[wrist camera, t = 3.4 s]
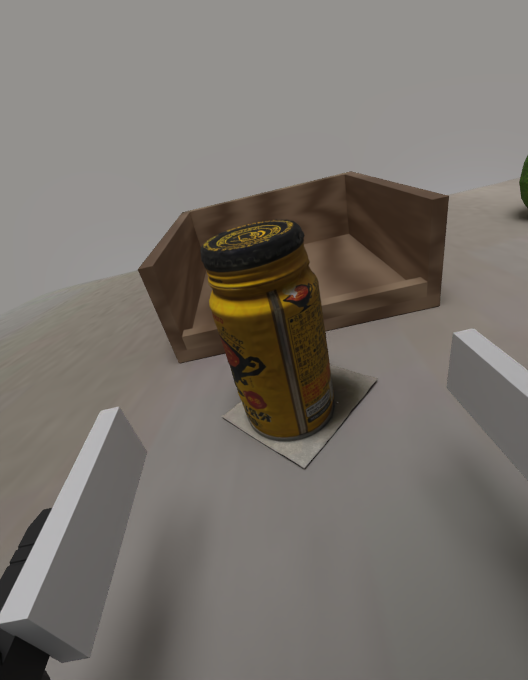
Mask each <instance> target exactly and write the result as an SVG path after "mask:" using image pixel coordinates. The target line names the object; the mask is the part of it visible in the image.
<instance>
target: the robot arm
mask: <svg viewBox="0 0 528 680" xmlns="http://www.w3.org/2000/svg"><path fill="white" fill-rule="evenodd" d="M447 389H448V390H449V391H450V392H451V393H452V395H453V396H454V397H455V398H456V399H457V400H458V401H459V403H460V404H461V405H462V406H463V407H464V408H465V409H466V411H467V412H468V413H469V414H470V415H471V416H472V417H473V419H474V420H475V421H476V422H477V423H478V424H479V425H480V427H481V428H482V429H483V430H484V431H485V432H486V433H487V435H488V436H489V437H490V438H491V439H492V440H493V441H494V443H495V444H496V445H497V446H498V447H499V448H500V449H501V451H502V452H503V453H504V454H505V455H506V456H507V457H508V459H509V460H510V461H511V462H512V463H513V464H514V465H515V467H516V468H517V469H518V470H519V471H520V472H521V473H522V475H523V476H524V477H525V478H526V479H527V480H528V370H527V369H526V368H524V367H523V366H522V365H520V364H519V363H518V362H517V361H515V360H514V359H513V358H511V357H510V356H509V355H507V354H506V353H505V352H504V351H502V350H501V349H500V348H498V347H497V346H496V345H494V344H493V343H492V342H491V341H489V340H488V339H487V338H485V337H484V336H483V335H481V334H480V333H479V332H478V331H476V330H475V329H474V328H472V329H468V330H463V331H459V332H454V333H453V337H452V345H451V354H450V362H449V371H448V380H447ZM146 455H147V451H146V449H145V447H144V446H143V444H142V442H141V441H140V439H139V438H138V436H137V434H136V433H135V431H134V430H133V428H132V426H131V425H130V423H129V421H128V420H127V418H126V417H125V415H124V413H123V412H122V410H121V408H120V407H115V408H111V409H106V410H102V411H100V413H99V415H98V417H97V419H96V421H95V423H94V425H93V427H92V429H91V431H90V433H89V435H88V437H87V439H86V441H85V443H84V445H83V447H82V449H81V452H80V454H79V456H78V458H77V460H76V462H75V464H74V466H73V468H72V470H71V472H70V474H69V476H68V478H67V480H66V482H65V484H64V486H63V488H62V490H61V492H60V494H59V496H58V498H57V500H56V502H55V504H54V506H53V508H49V509H44V510H43V511H42V512H41V513H40V514H39V515H38V517H37V518H36V519H35V520H34V521H33V522H32V524H31V525H30V526H29V527H28V529H27V531H26V533H25V535H24V536H23V538H22V540H21V542H20V544H19V546H18V550H16V551H15V553H14V555H13V557H12V559H11V561H10V566H8V567H7V568H6V570H5V572H4V574H3V576H2V578H1V579H0V680H50V677H49V675H48V674H47V672H46V671H45V668H46V665H47V662H48V659H49V656H51V657H52V658H54V659H56V660H58V661H59V662H61V663H64V662H70V661H75V660H80V659H86V658H90V655H91V651H92V648H93V644H94V641H95V637H96V633H97V630H98V626H99V623H100V619H101V616H102V612H103V608H104V605H105V601H106V598H107V594H108V591H109V587H110V583H111V580H112V576H113V573H114V569H115V566H116V562H117V558H118V555H119V551H120V548H121V544H122V540H123V537H124V533H125V530H126V526H127V523H128V519H129V515H130V512H131V508H132V505H133V501H134V498H135V494H136V490H137V487H138V483H139V480H140V476H141V473H142V469H143V465H144V462H145V458H146Z"/></svg>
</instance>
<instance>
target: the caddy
mask: <svg viewBox="0 0 528 680" xmlns="http://www.w3.org/2000/svg"><path fill="white" fill-rule="evenodd" d="M448 201H449V196H447V195H443V194H439V193H435V192H431V191H427V190H423V189H419V188H415V187H411V186H407V185H403V184H399V183H395V182H391V181H387V180H383V179H379V178H375V177H371V176H367V175H363V174H359V173H355V172H347V173H342V174H339V175H335V176H330V177H326V178H322V179H318V180H314V181H310V182H306V183H301V184H297V185H293V186H289V187H285V188H281V189H277V190H273V191H269V192H264V193H260V194H256V195H252V196H248V197H244V198H240V199H236V200H232V201H228V202H224V203H219V204H215V205H211V206H207V207H203V208H199V209H195V210H191V211H187V212H183V213H182V214H181V215H180V216H179V218H178V219H177V220H176V221H175V223H174V224H173V225H172V226H171V228H170V229H169V230H168V232H167V233H166V234H165V235H164V237H163V238H162V239H161V241H160V242H159V243H158V244H157V246H156V247H155V248H154V249H153V251H152V252H151V253H150V255H149V256H148V257H147V258H146V260H145V261H144V262H143V263H142V265H141V266H140V267H139V269H138V271H139V273H140V276H141V278H142V280H143V282H144V285H145V287H146V289H147V292H148V294H149V296H150V298H151V301H152V303H153V305H154V308H155V310H156V312H157V314H158V317H159V319H160V321H161V323H162V326H163V328H164V330H165V333H166V335H167V337H168V339H169V342H170V344H171V346H172V348H173V351H174V353H175V355H176V358H177V360H178V362H179V363H182V362H187V361H191V360H196V359H200V358H205V357H209V356H214V355H219V354H223V353H225V350H224V347H223V344H222V341H221V338H220V336H219V333H218V330H217V327H216V324H215V322H214V319H213V316H212V312H211V309H210V306H209V299H210V295H211V292H212V288H211V287H210V286H209V284H208V275H207V271H206V269H205V267H204V264H203V262H202V260H201V252H200V250H201V247H202V245H204V244H205V242H206V241H207V240H209V239H210V238H212V237H214V236H216V235H218V234H219V233H222V232H225V231H227V230H230V229H233V228H236V227H240V226H244V225H247V224H252V223H256V222H261V221H268V220H276V219H277V220H281V219H282V220H286V219H287V220H290V221H294V222H296V223H297V224H298V225H299V226H300V227H301V229H302V231H303V232H304V235H305V236H304V247H305V249H306V252H307V254H308V259H309V261H310V263H309V267H310V269H311V271H312V272H313V273H315V275H316V277H317V278H318V281H319V290H320V297H321V304H322V312H323V320H324V326H325V331H328V330H332V329H337V328H341V327H346V326H350V325H355V324H360V323H364V322H369V321H373V320H378V319H382V318H387V317H391V316H396V315H400V314H405V313H410V312H414V311H419V310H423V309H428V308H432V307H437V306H439V305H440V294H441V282H442V270H443V259H444V247H445V236H446V224H447V212H448Z"/></svg>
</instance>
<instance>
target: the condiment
mask: <svg viewBox="0 0 528 680" xmlns="http://www.w3.org/2000/svg"><path fill="white" fill-rule="evenodd" d="M304 236H305V235H304V232H303V231H302V229H301V227H300V226H299V225H298V224H297V223H296V222H294V221H290V220H287V219H286V220H282V219H281V220H277V219H276V220H268V221H261V222H256V223H252V224H247V225H244V226H240V227H236V228H233V229H230V230H227V231H225V232H222V233H219V234H218V235H216V236H214V237H212V238H210V239H209V240H207V241H206V242H205V244H204V245H202V247H201V250H200V252H201V260H202V262H203V264H204V267H205V269H206V271H207V275H208V284H209V286H210V287H211V288H212V292H211V295H210V299H209V306H210V309H211V312H212V316H213V319H214V322H215V324H216V327H217V330H218V333H219V336H220V338H221V341H222V344H223V347H224V350H225V353H226V356H227V359H228V362H229V365H230V368H231V371H232V375H233V378H234V382H235V385H236V387H237V390H238V393H239V396H240V398H241V402H240V403H238V404H237V405H235V407H234V408H233V409H231V410H230V411H229V412H228V413H226V414H225V415H223V416H221V417H223V418H224V419H226V420H228V421H229V422H231V423H232V424H233V425H235V426H237V427H238V428H240V429H241V430H243V431H244V432H246V433H248V434H249V435H251V436H252V437H254V438H255V439H257V440H259V441H260V442H262V443H263V444H265V445H267V446H268V447H270V448H272V449H273V450H275V451H277V452H279V453H280V454H282V455H284V456H286V457H287V458H289V459H290V460H292V461H294V462H295V463H297V464H298V465H300V466H301V467H303V468H305V467H306V466H307V464H308V463H309V462H310V461H311V460H312V459H313V457H314V456H315V455H316V454H317V453H318V452H319V451H320V449H321V448H322V447H323V446H324V445H325V443H326V442H327V440H328V439H330V438H331V436H332V435H333V434H334V433H335V432H336V430H337V429H338V427H340V425H341V424H342V423H343V421H344V420H345V419H346V418H347V416H348V415H349V413H350V412H351V410H352V409H353V408H354V407H355V406H356V405H357V404H358V402H359V401H360V400H361V399H362V398H363V397H364V395H365V394H366V393H367V391H368V390H369V388H370V387H371V386H372V385H373V384H374V382H375V381H376V380H377V379H378V378H374V377H371V376H368V375H362V374H359V373H355V372H352V371H349V370H345V369H342V368H339V367H336V366H333V365H330V363H329V356H328V348H327V342H326V333H325V326H324V320H323V312H322V304H321V297H320V290H319V281H318V278H317V277H316V275H315V273H313V272H312V271H311V269H310V267H309V263H310V261H309V259H308V254H307V252H306V249H305V247H304ZM337 402H338V403H337Z"/></svg>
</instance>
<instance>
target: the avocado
mask: <svg viewBox="0 0 528 680" xmlns="http://www.w3.org/2000/svg"><path fill="white" fill-rule="evenodd" d="M519 183H520V191H521V198H522V200H523V202H524V204H525V205H526V207H527V208H528V156H527V158H526V160H525V162H524V166H523V169H522V174H521V177H520V181H519Z"/></svg>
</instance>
